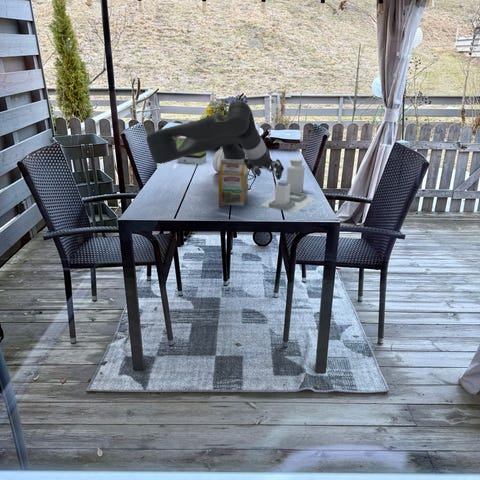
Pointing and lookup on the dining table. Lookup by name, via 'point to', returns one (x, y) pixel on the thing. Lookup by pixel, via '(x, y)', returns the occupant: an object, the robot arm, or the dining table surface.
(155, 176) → the dining table surface
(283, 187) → the plug
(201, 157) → the tea box
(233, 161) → the milk carton
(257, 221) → the dining table surface
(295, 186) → the pill bottle
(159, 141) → the robot arm
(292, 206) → the panel
